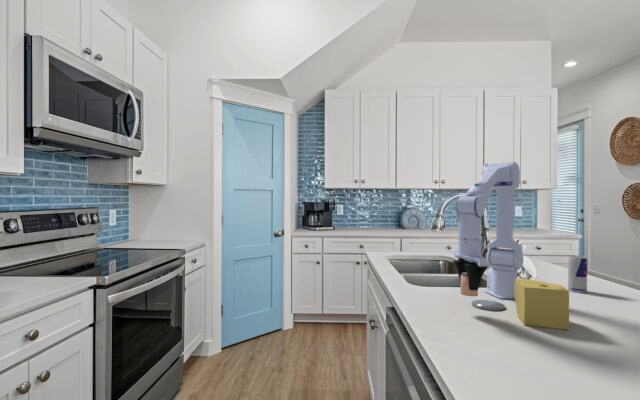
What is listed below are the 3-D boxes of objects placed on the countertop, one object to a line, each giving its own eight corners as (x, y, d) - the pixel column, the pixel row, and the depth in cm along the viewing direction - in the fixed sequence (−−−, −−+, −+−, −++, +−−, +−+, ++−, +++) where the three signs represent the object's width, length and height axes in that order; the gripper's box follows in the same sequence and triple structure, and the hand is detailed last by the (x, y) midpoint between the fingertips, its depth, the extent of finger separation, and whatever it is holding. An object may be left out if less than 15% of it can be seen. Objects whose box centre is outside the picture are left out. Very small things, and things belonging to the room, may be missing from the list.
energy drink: (590, 293, 121) (590, 258, 121) (572, 292, 122) (572, 257, 122) (581, 289, 126) (582, 256, 126) (565, 288, 127) (565, 255, 127)
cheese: (557, 317, 95) (557, 280, 95) (571, 331, 85) (571, 290, 85) (514, 313, 99) (514, 277, 99) (522, 326, 88) (522, 286, 88)
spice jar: (457, 292, 100) (457, 271, 100) (472, 292, 101) (472, 271, 101) (465, 296, 96) (465, 274, 96) (480, 296, 96) (481, 274, 96)
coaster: (466, 302, 109) (466, 300, 109) (493, 301, 110) (493, 299, 110) (481, 311, 100) (481, 309, 100) (511, 310, 101) (511, 308, 101)
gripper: (444, 236, 105) (444, 281, 105) (468, 242, 91) (468, 294, 91) (467, 236, 106) (467, 281, 106) (494, 242, 91) (494, 294, 91)
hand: (469, 287), depth 98 cm, fingers closed on spice jar, 4 cm apart
